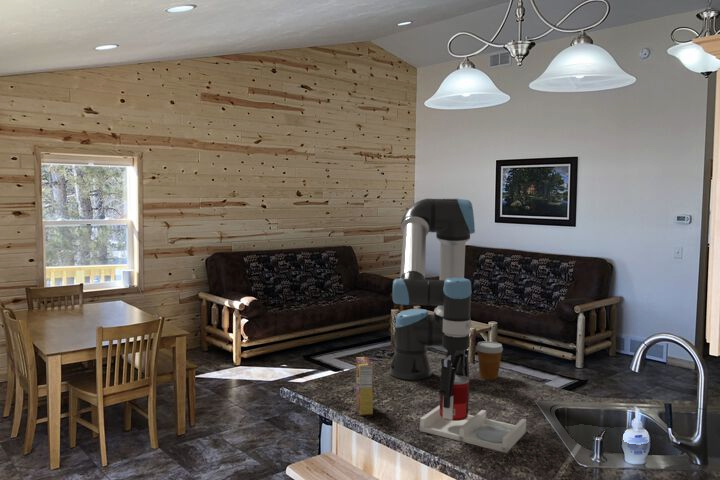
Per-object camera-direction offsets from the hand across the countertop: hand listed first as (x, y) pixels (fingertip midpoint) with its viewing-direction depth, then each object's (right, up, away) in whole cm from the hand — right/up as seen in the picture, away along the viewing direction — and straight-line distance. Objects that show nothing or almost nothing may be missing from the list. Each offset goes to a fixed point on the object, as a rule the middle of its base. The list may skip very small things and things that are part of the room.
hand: (453, 413), depth 170 cm
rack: (+5, -5, -3) cm, 7 cm away
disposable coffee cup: (+20, -1, +49) cm, 53 cm away
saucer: (+10, -4, -6) cm, 12 cm away
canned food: (0, -1, 0) cm, 1 cm away
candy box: (-25, -3, +15) cm, 30 cm away
